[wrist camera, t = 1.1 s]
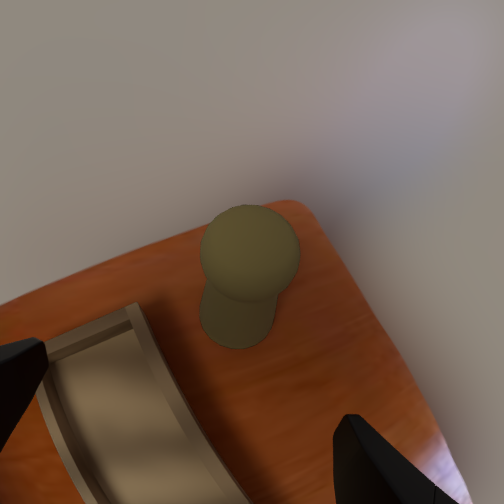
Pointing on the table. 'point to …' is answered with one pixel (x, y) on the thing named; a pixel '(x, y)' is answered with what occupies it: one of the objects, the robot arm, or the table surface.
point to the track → (128, 419)
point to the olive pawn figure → (245, 273)
